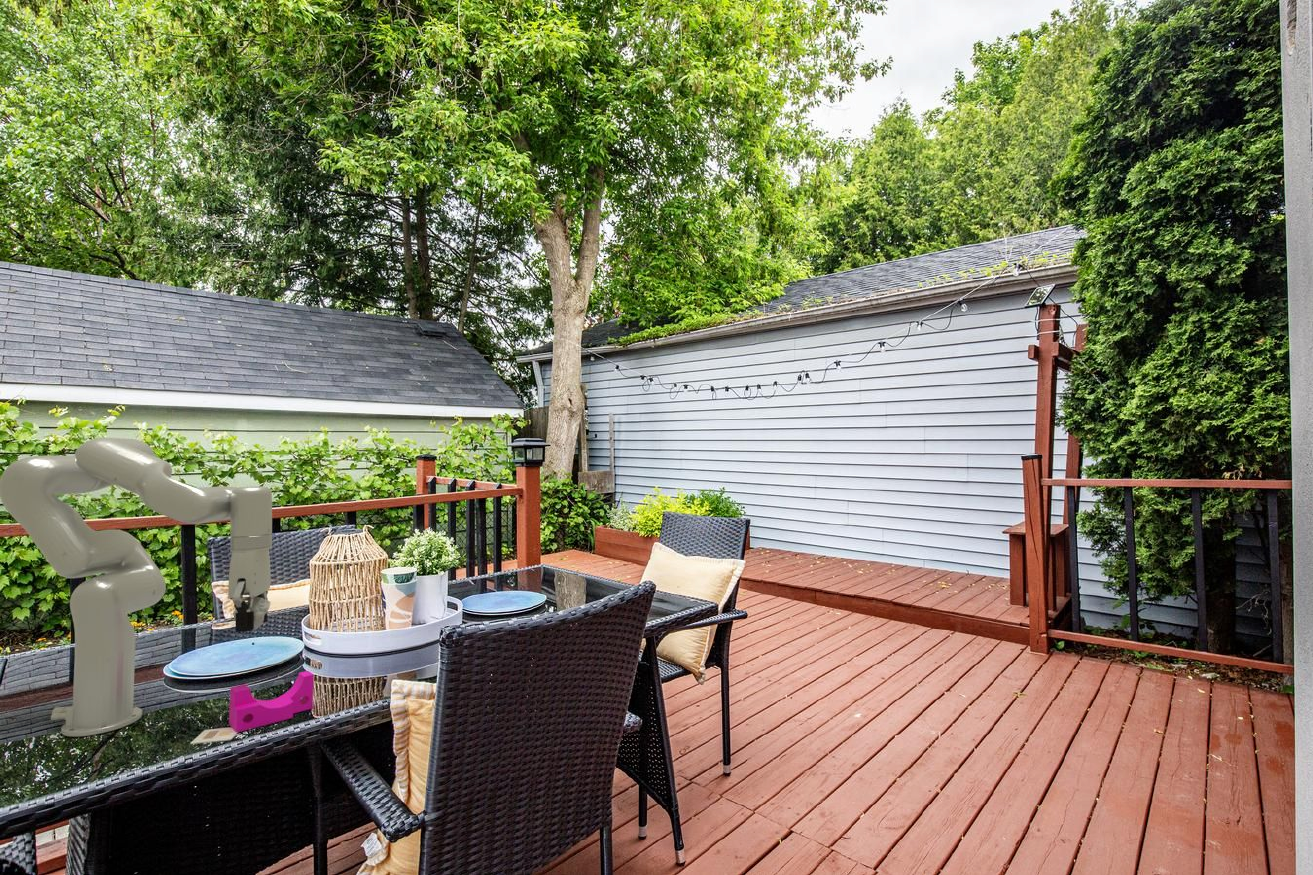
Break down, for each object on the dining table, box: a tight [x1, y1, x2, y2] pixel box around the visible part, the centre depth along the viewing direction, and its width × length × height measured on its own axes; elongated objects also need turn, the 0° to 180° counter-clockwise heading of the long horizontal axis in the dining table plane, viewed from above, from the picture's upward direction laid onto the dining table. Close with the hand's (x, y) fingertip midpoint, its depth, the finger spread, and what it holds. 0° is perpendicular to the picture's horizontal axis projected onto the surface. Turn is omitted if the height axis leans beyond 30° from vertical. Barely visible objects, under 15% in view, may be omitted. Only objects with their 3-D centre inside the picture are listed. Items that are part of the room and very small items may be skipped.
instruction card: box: [189, 726, 239, 745], centre depth 122 cm, size 7×6×1 cm
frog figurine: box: [232, 597, 271, 632], centre depth 129 cm, size 6×7×7 cm
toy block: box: [228, 670, 315, 734], centre depth 130 cm, size 15×6×8 cm, turn 137°
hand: (251, 625), depth 129 cm, fingers closed on frog figurine, 6 cm apart
